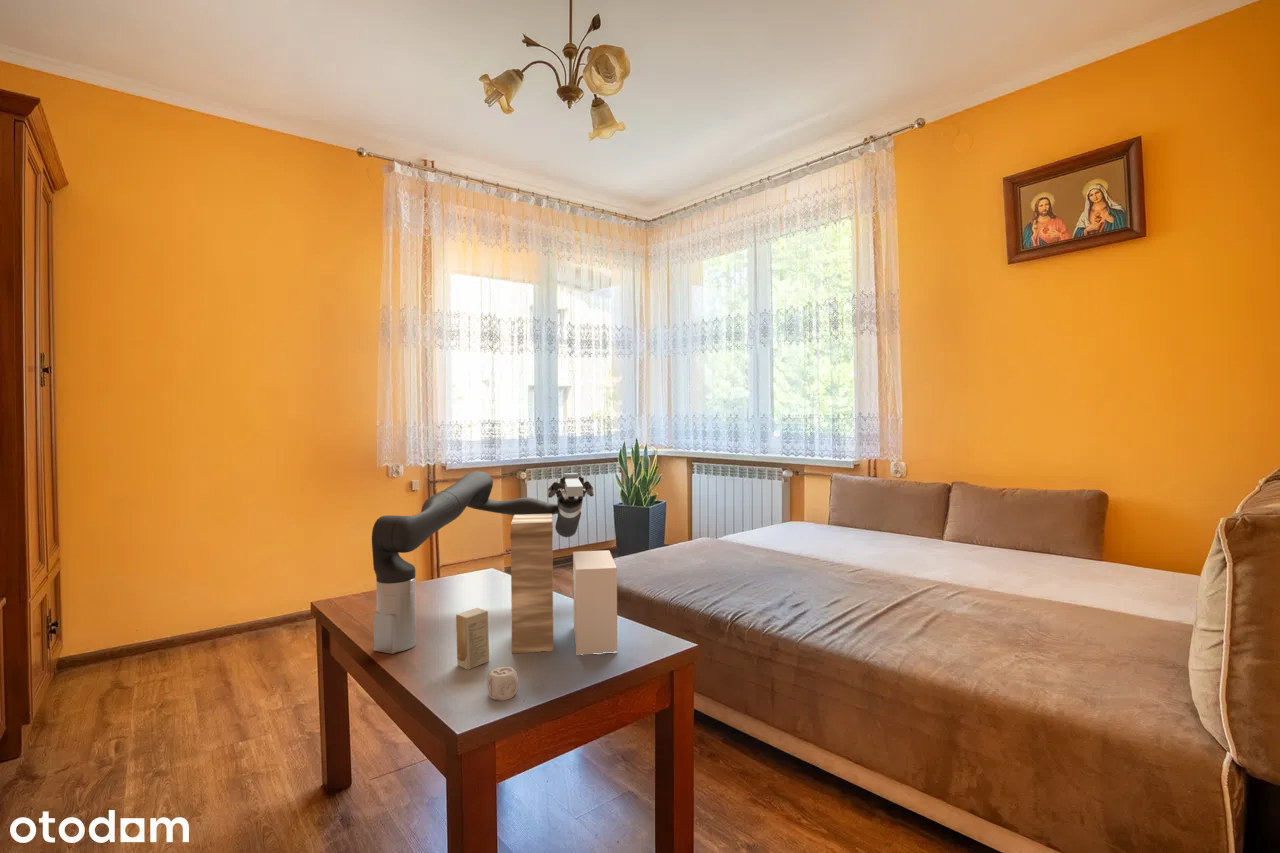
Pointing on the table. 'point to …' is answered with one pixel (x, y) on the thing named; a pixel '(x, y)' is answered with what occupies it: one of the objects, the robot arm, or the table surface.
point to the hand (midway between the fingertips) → (572, 479)
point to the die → (502, 683)
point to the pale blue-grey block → (573, 485)
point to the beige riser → (595, 602)
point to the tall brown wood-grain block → (532, 583)
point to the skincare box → (472, 638)
